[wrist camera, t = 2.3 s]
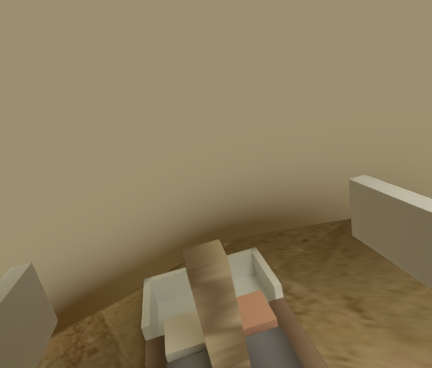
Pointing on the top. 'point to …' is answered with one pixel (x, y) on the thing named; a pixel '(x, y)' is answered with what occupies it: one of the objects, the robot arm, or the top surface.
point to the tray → (183, 298)
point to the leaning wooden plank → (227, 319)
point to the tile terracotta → (255, 313)
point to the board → (285, 318)
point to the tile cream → (183, 336)
